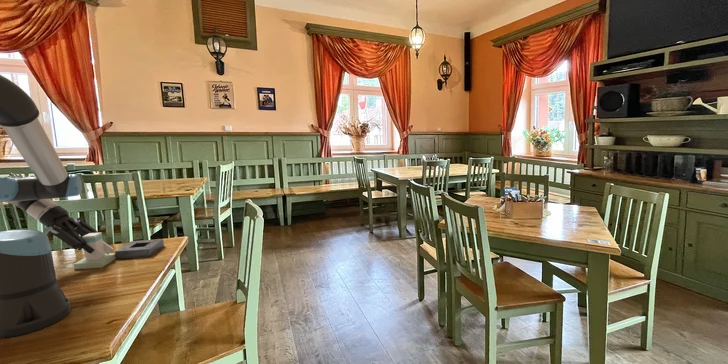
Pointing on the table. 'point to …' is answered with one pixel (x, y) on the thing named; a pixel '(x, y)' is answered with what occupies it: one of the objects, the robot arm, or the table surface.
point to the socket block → (139, 249)
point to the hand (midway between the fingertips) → (106, 254)
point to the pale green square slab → (95, 262)
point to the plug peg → (96, 241)
